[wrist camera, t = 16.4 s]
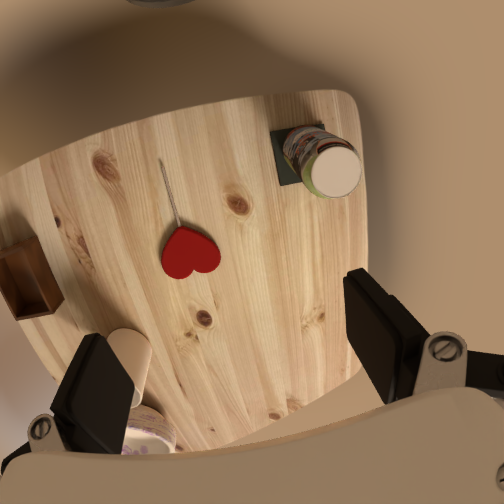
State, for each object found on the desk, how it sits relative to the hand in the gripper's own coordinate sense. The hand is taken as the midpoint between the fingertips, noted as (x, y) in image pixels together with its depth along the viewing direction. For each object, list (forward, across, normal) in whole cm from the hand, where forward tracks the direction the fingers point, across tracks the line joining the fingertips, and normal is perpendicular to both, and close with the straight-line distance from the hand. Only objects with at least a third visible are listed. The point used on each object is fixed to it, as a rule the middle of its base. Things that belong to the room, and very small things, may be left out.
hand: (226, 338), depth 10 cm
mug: (+28, +23, +19) cm, 41 cm away
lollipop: (+28, +6, +2) cm, 29 cm away
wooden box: (+28, +34, +3) cm, 44 cm away
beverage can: (+28, -11, -2) cm, 30 cm away
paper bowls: (+28, +29, +39) cm, 56 cm away
